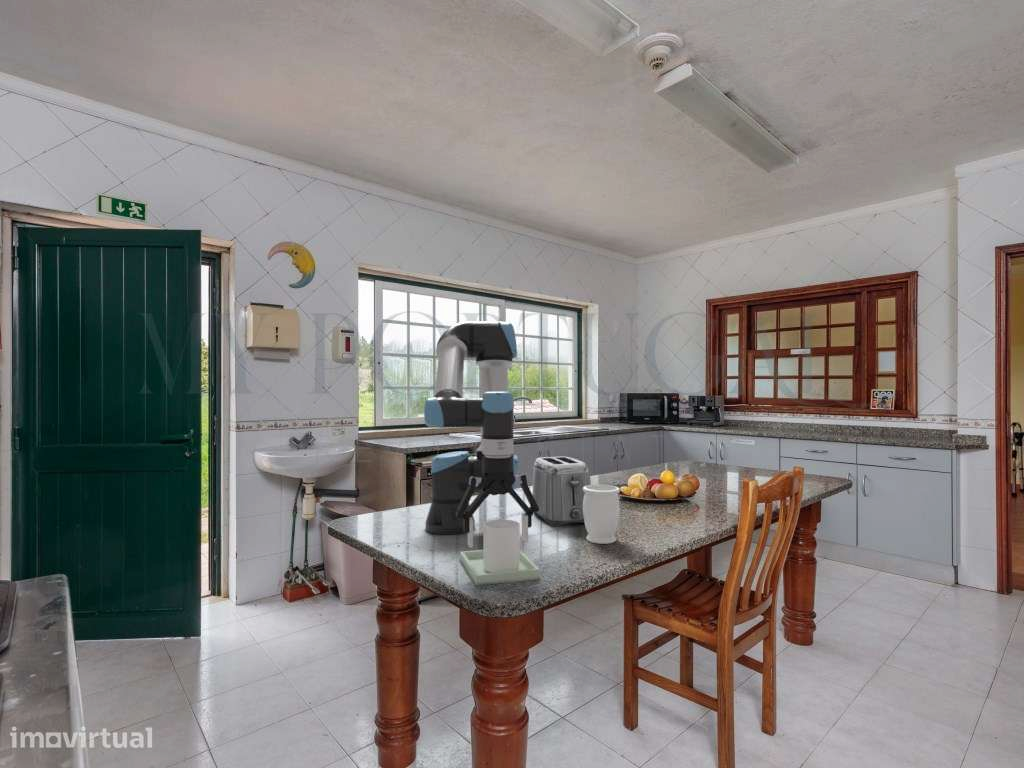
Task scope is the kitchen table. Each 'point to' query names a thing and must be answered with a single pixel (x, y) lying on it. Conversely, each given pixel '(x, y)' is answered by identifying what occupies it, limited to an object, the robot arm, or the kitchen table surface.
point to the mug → (501, 545)
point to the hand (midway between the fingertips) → (497, 543)
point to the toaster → (560, 489)
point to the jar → (601, 512)
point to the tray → (482, 577)
